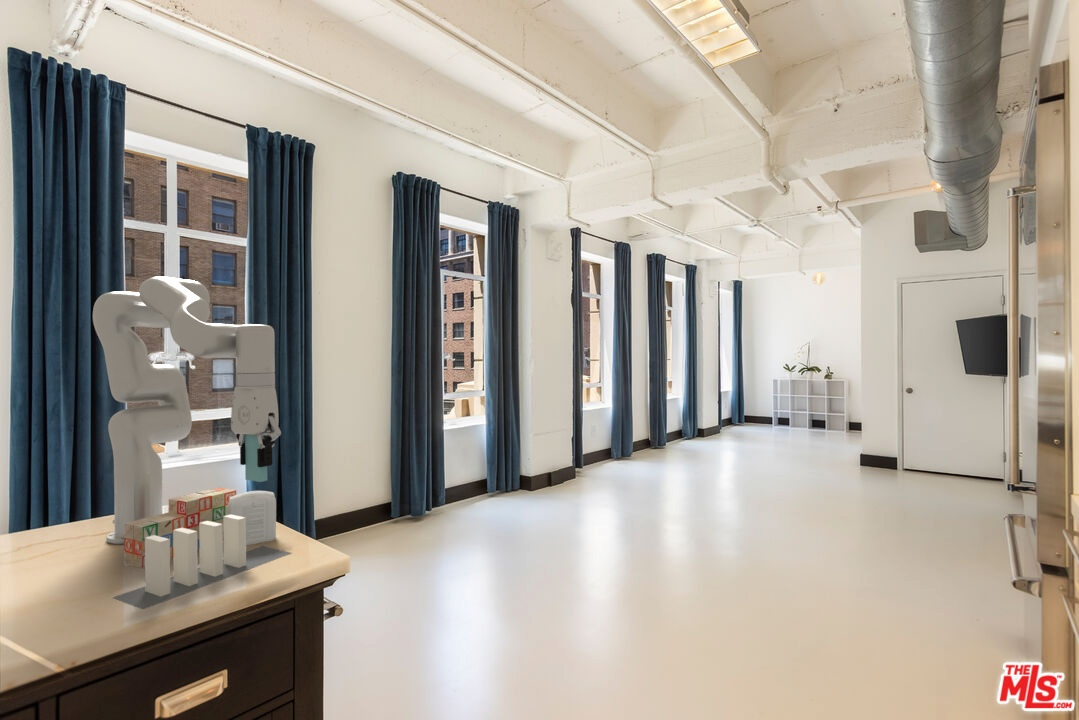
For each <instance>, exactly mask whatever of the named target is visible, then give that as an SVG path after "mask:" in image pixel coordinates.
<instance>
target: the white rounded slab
mask: <svg viewBox="0 0 1079 720" xmlns="http://www.w3.org/2000/svg"><path fill="white" fill-rule="evenodd" d="M230 514H231V515H236V516H241V517H246V546H249V545H250V546H251V545H255V544H260V543H267V542H272V541H275V540H276V538H277V537H276V536H277V500H276V497H275V492H273V491H267V490H250V491H244V492H242V493H237V494H236V495H235V496H232V497H230V500H229V503H228V507H227V515H230Z"/></svg>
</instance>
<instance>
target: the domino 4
mask: <svg viewBox="0 0 1079 720" xmlns="http://www.w3.org/2000/svg"><path fill="white" fill-rule="evenodd" d="M223 536H224V541H223V559H224V564H226V565H230V566H234V567H237V568H240V567H243V566H245V565H246V551H247V545H246V517H241V516H236V515H231V514H230V515H227V516H223Z"/></svg>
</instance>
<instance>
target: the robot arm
mask: <svg viewBox="0 0 1079 720" xmlns="http://www.w3.org/2000/svg"><path fill="white" fill-rule="evenodd" d="M210 303H211V295H210V293H209V291H208V288H207V287H206V286H205V285H203V284H202V283H201V282H199V281H195V280H192V279H186V278H185V279H183V278H177V277H170V276H153V277H150V278H147V279H145V280H144V281H143V282H142V283H141V284H140V286H139V289H138V292H135V291H123V290H122V291H121V290H120V291H110V292H105V293H103V294H101V295H100V296H99V297H98V298H97V299H96V301H95V302H94V305H93V309H92V310H93V311H92V323H93V326H94V330H95V333H96V335H97V336H98V339H99V341H100V344H101V346H102V348H103V352H104V359H105V364H106V366H105V367H106V372H107V377H108V378H107V379H108V383H109V388H110V393H111V396H112V397H113V399H114V400H115V401H116V402H119V403H126V404H130V403H131V404H135V403H136V404H137V403H148V402H158V405H156V406H155V405H154V406H140V407H131V408H127V409H126V408H125V409H121V410H119V411H118V412H116V413H114V414H113V415H112V416H111V417H110V419H109V421H108V426H107V427H108V428H107V429H108V434H109V439H110V443H111V449H112V454H113V455H112V457H113V477H114V478H113V483H114V484H113V488H114V493H113V494H114V497H113V498H114V499H113V500H114V501H113V502H114V506H113V507H114V510H113V511H114V519H113V520H112V524H114V530H112V532H110V533H108V534H107V535H106V542H107V543H109V544H114V545H115V544H116V545H124V538H125V523H128V522H132V521H136V520H140V519H144V518H148V517H152V516H157V515H160V514H163V462H162V459H161V457H160V456H159V454H158V453H157V452H156V451H155V449H154V448H153V447H152V445H157V444H165V443H171V442H177V441H182V440H183V439H185V438H187V437H188V436H189V435H190V432H191V431H192V425H193V424H192V423H193V422H192V412H191V411H192V410H191V406H190V405H191V404H190V399H189V394H188V389H187V383H186V379H185V376H184V374H183V372H182V371H181V370H180V368H177V366H175V365H172V364H166V363H163V364H162V363H157V364H156V363H155V364H152V363H151V362H150V360H149V359H150V358H149V356H148V355H149V354H148V349H147V346H146V344H145V342H144V341H143V339H141V337H140V336H139V335H138V333H136V332H135V331H134V330H133V329H132V327H134V328H135V327H136V328H137V327H138V328H153V329H154V328H157V329H169V331H170V334H171V337H172V340H173V342H175V344H176V345H177V346H179V347H180V348H182V349H183V350H184V351H185V352H187V353H189V354H190V355H192V356H195V357H197V358H201V359H235V387H234V390H233V396H232V402H231V414H230V429H231V431H232V432H233V434H234V435H235V437H236V439H237V441H238V442H237V444H238V446H239V462H240V463H239V465H240V466H241V465H242V466H245V464H246V450H245V435H257V437H258V442H259V447H260V448H259V449H257V466H258V467H265V466H267V467H269V466H272V465H273V447H274V446H275V442H276V441H277V439H279V437H280V436H281V435H282V431H281V429H280V427H279V419H280V418H279V403H278V396H277V391H276V373H275V372H276V368H275V367H276V364H275V363H276V362H275V361H276V357H275V356H276V354H275V352H276V351H275V350H276V349H275V343H276V342H275V340H276V339H275V337H276V336H275V329H274V328H273V326H272V325H267V324H256V323H255V324H252V323H249V324H248V323H245V324H229V323H226V324H225V323H211V322H210V323H209V322H208V320H209V318H210V315H211V309H210V306H209V305H210ZM263 436H267V437H266V439H265V440H264V437H263Z"/></svg>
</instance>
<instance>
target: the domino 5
mask: <svg viewBox="0 0 1079 720" xmlns="http://www.w3.org/2000/svg"><path fill="white" fill-rule="evenodd" d="M263 437H264V440H265V439H266V437H267V436H263ZM259 448H260V447H259V442H258V437H257V435H245V450H246V464H245V465H244V466H245V470H244V471H245V472H244V474H245V476H244V477H245V479H244V480H246V481H252V482H259V483H263V482H267V481H268V466H265V467H258V466H257V449H259Z"/></svg>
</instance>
